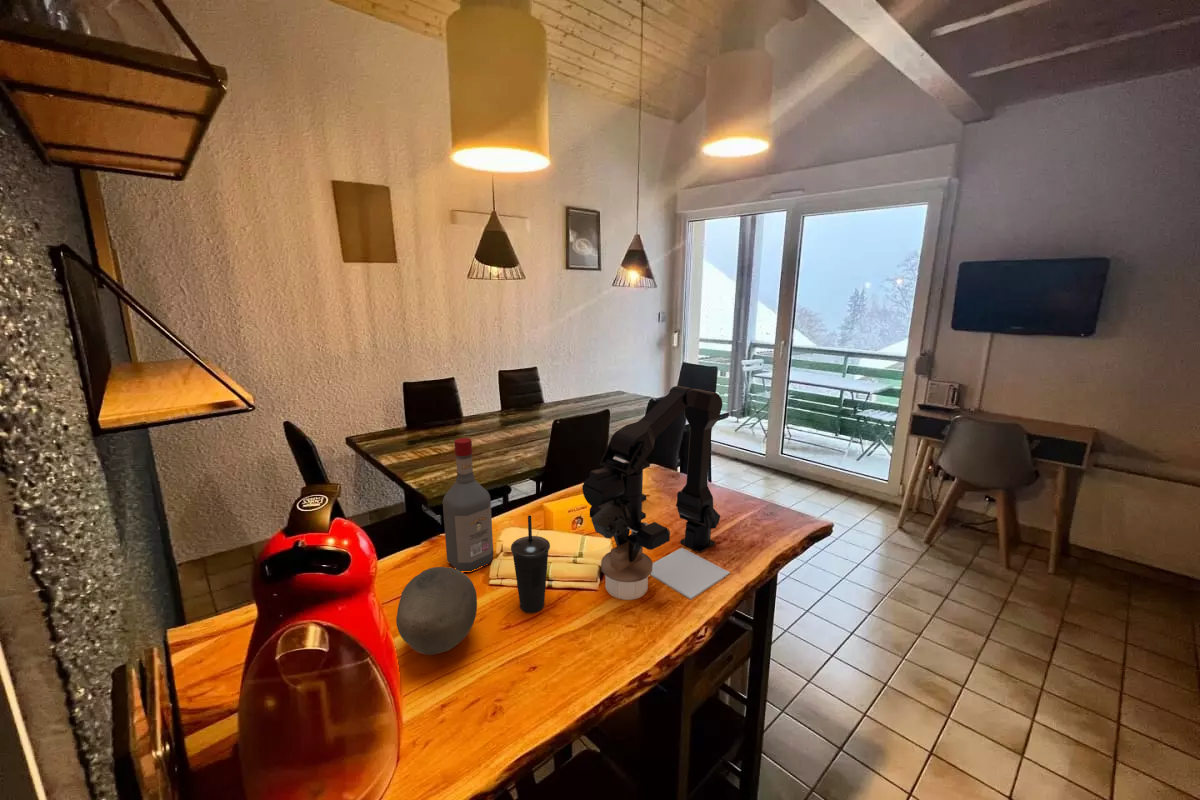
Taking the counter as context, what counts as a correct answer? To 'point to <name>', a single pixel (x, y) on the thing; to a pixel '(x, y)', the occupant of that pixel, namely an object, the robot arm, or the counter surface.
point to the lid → (626, 565)
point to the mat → (687, 572)
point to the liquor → (467, 515)
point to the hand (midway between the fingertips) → (627, 558)
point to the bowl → (626, 588)
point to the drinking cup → (531, 569)
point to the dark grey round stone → (436, 610)
